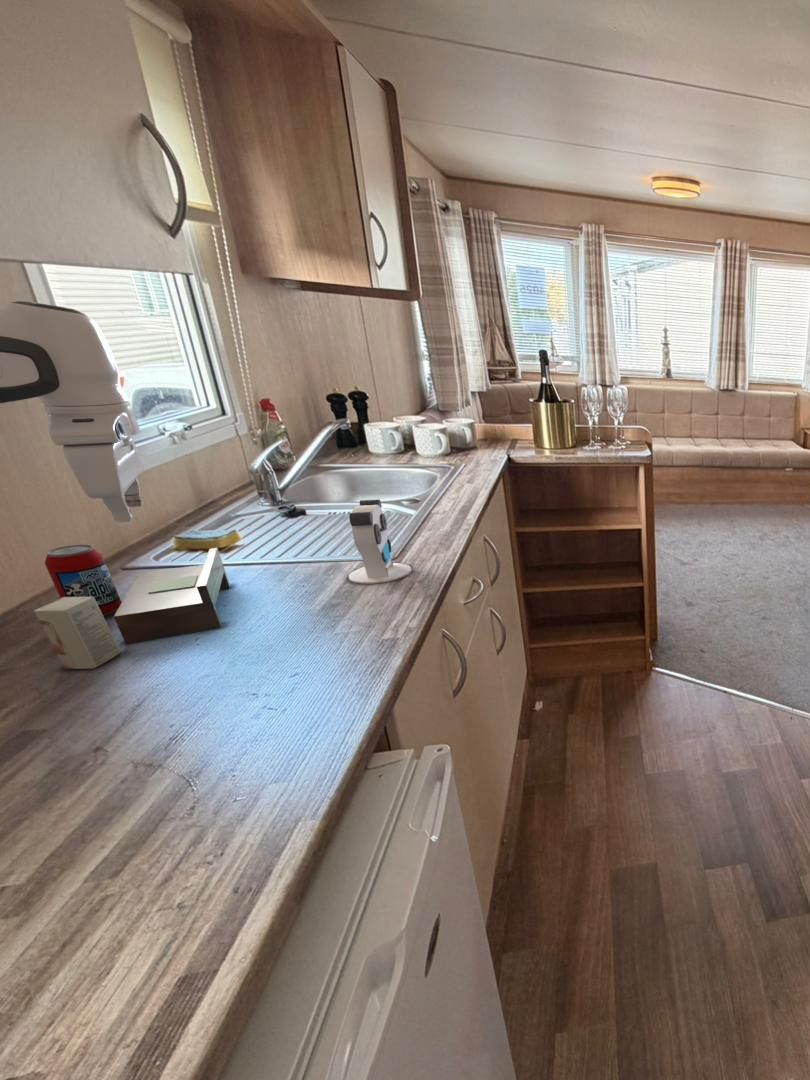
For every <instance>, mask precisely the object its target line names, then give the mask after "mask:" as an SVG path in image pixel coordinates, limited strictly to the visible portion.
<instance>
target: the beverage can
mask: <svg viewBox="0 0 810 1080" xmlns="http://www.w3.org/2000/svg"><path fill="white" fill-rule="evenodd" d="M44 565H45V568H46V569H47V572H48V574H49V576H50V578H51V581H52V582H53V585H54V588H55V589H56V591H57V594H58V595H59V599H60V598H63V597H94V598H95V600H96V602H97V604H98V607H99V609H100V611H101V613H102V615H103V617H104V616H108V615H111V614H112V613H116V612H117V610H118V608H119V606H120V605H121V603H122V599H121V597H120V595H119V592H118V589H117V587H116V585H115V582H114V580H113V577H112V576H111V575H112V574H111V573H110V571H109V569H108V566H107V564H106V561H105V559H104V556H103V554H102V553H101V552H100V551H98V550H97V549H95V547H93V545H90V544H72V545H70V544H69V545H63V546H59V547H56V548H52V549H49V550H48V551H47V552H46V557H45V560H44Z"/></svg>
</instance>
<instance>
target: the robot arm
mask: <svg viewBox="0 0 810 1080" xmlns="http://www.w3.org/2000/svg"><path fill="white" fill-rule="evenodd" d="M119 373H120V372H119V369H118V365H117V363H116V360H115V357H114V355H113V353H112V350H111V348H110V346H109V343H108V341H107V340H106V337H105V335H104V334H103V331H102V330H101V328H100V327H99V325H98V324H97V323H96V321H95V320H94V319H93V318H92V317H89V316H88V315H87V314H86V313H83V312H81V311H79V310H77V309H74V308H70V307H64V306H59V305H54V304H53V305H52V304H47V303H40V302H34V301H33V302H32V301H28V300H16V301H11V302H9V304H8V305H6V306H5V307H3V308H1V309H0V405H7V404H11V403H14V402H17V401H23V400H24V401H25V400H29V399H33V398H37V399H39V400H40V402H41V404H42V407H43V409H44V412H45V413H46V416H47V420H48V422H49V430H48V432H49V437H50V438H51V441H52V443H53V444H54V445H56V446H62V451H63V455H64V457H65V460H66V461H67V464H68V466H69V467H70V469H71V472H72V473H73V475H74V477H75V480H76V481H77V483H78V485H79V486H80V488H81V489H82V491H83V492H84V494H85V495H86V496H87V497H88V498H90V499H93V500H94V499H102V501H103V504H104V505H105V507H106V508H107V509H108V510H109V511H110V513H111V515H112V518H113V521H114V522H116V523H129V522H131V520H132V519H133V514H132V511H131V508H134V507H135V508H137V507H141V506H142V505H143V504H144V500H143V498H142V494H141V489H140V488H141V487H140V481H139V479H138V478H139V477H140V475H141V474H142V473H143V472H144V470H145V469H144V463H143V460H142V457H141V454H140V452H139V450H138V448H137V445H136V443H135V441H134V438H133V435H138V434H140V433H141V429H140V426H139V423H138V421H137V417H136V415H135V412H134V409H133V407H132V404H131V401H130V398H129V397H128V395H127V394H126V393H125V392H124V390H123V388H122V387H121V383H120V380H119Z"/></svg>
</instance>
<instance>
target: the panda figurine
mask: <svg viewBox="0 0 810 1080" xmlns="http://www.w3.org/2000/svg"><path fill="white" fill-rule="evenodd" d="M382 507H383V506H382V501H381V499H363V500H359V505H356V506H355V507H354V508H353V509H352V512H349V515H348V516H349V523H350V525H351V530H352V531H351V532H352V538H353V541H354V545H355V548H356V549H357V551H358V553H359V554H360V555H361V558H362V562H363V566H362V567H360V568H357V569H355V570H353V571H352V572H350V573H349V574H348V580H349V581H350V582H352V583H356V584H361V585H372V584H373V585H374V584H382V583H388V582H393V581H396V580H400V579H402V578H404V577H406V576H408V575H409V574H411V572H412V567H411V566H410V565H408V564H405V563H401V562H393V558H392V555H391V552H392V542H391V540H390V539H389V538H388V524H387V523H388V522H387V518H386V516H385V514H384V513H383V510H382Z"/></svg>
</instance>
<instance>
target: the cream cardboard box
mask: <svg viewBox="0 0 810 1080" xmlns="http://www.w3.org/2000/svg"><path fill="white" fill-rule="evenodd" d="M33 612H34V614H35V616H36V617H37V620H38V622H39V623H40V625H41V627H42V629H43V631H44V632H45V635H46V636H47V638H48V640H49V643H50V644H51V646H52V648H53V649H54V652H55V654H56V655H57V658H58V660H59V661H60V663H61V666H62V667H63V668H64V670H87V669H96V668H98V667H99V666H101V665H103V664H104V663H106V662H108V661H110V660H111V659H113V658H115V657H116V656H118V655H120V654H121V650H120V648H119V646H118V644H117V642H116V640H115V637H114V636H113V634H112V631H111V630H110V627H109V625H108V623H107V621H106V619H105V617H104V616H103V615H102V613H101V611H100V609H99V607H98V604H97V602H96V600H95V598H94V597H63V598H60V597H59V598H58V599H56V600H53V601H51V602H50V603H47V604H45V605H43V606H41V607H39V608H36V609H34V610H33Z"/></svg>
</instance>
